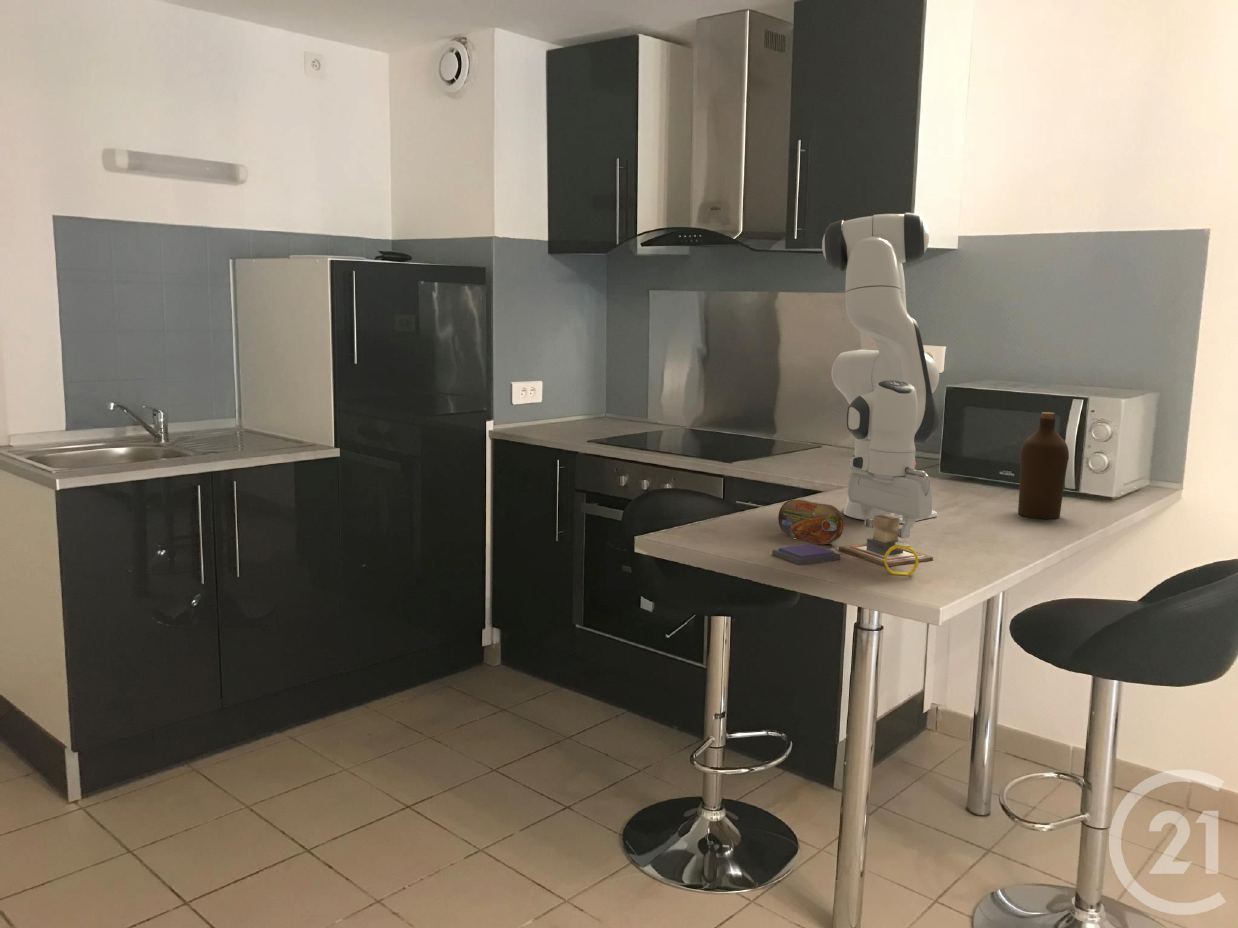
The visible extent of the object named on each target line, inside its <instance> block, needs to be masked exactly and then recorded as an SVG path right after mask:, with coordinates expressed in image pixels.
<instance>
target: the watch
mask: <svg viewBox="0 0 1238 928" xmlns="http://www.w3.org/2000/svg"><path fill="white" fill-rule="evenodd" d="M903 542H904V541H903ZM903 542H896V543H895V545H894V546H892V547H890V548H889V549H888V551H887V552H886V554H885V558H884V563H885V566H884V567H885V568H886V570H887V571H888V572H889V573H890V574H891V575H894V576H903V577H904V576H905V577H909V576H910V575H912V574H914V573H915V571H916V570H917V568H918V566H919V562H918V556H917V554H916V552H917V551H915V549H914V548H913V547H911V544H910V543H908V542H904V543H903ZM896 548H899V549H909V550H910V551H912V552H913V554H914V555H915V559H916V563H914V565H913V567H912V569H909V570H908V571H907V572H905V571H904V572H903V571H893V570H892V569H891V568H890V566H888V565H887V556H888V555H889V553H890V552H891V551H892V550H894V549H896Z"/></svg>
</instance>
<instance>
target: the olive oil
mask: <svg viewBox="0 0 1238 928" xmlns="http://www.w3.org/2000/svg"><path fill="white" fill-rule="evenodd" d="M1040 416H1041V417H1040V419H1039V427H1038V428H1037V430H1036V431H1034V432H1033V433H1032V434H1031V435H1030V436H1029V437H1028V438H1026V439H1025V441H1024V442H1023V443H1022V446H1021V449H1020V458H1019V459H1020V462H1019V463H1020V464H1019V465H1020V466H1019V467H1020V468H1019V470H1020V471H1019V490H1018V491H1019V493H1018V504H1017V505H1018V507H1017V513H1018V514H1019V515H1021V516H1022V517H1023V516H1024V517H1026V518H1033V519H1040V520H1054V519H1055V520H1056V519H1059V518H1060V516H1061V510H1062V504H1063V497H1064V496H1063V494H1064V490H1065V489H1064V488H1065V482H1066V476H1067V469H1068V463H1069V458H1070V455H1069V454H1070V452H1069V447H1068V445H1067V442H1066V441H1065V440H1064V439H1063V437H1062V436H1061V435H1060V434H1059V432H1057V430H1056V427H1055V426H1056V413H1055V412H1051V411H1050V412H1049V411H1048V412H1047V411H1046V412H1045V411H1041V414H1040Z"/></svg>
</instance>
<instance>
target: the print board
mask: <svg viewBox="0 0 1238 928" xmlns="http://www.w3.org/2000/svg"><path fill="white" fill-rule="evenodd" d="M837 548H838V549H837V550H838V551H840V552H844V553H847V554H850V555H852V556H856V557H858V558H861V559H864V560H866V561H869V562H873V563H876V564H878V565H881V566H884V567H886V566H885V563H884V558H885V556H884V555H881V554H878V553H875V552H872V551H869V550H866V548H867V542H866V543H865V542H864V543H858V544H852V545H842V546H838V547H837ZM915 552H916V554H917V556H918V563H922V562H929V561H930V562H931V561H934V557H933V556H930V555H928V554H924V553H920V552H918V551H915ZM915 563H916V559H915V555H914V554H913V552H912V551H910V550H909V549H903V553H900V554H892V555H888V556H887V565H888V567H894V566H900V565H907V564H908V565H909V564H915Z"/></svg>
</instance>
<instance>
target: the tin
mask: <svg viewBox="0 0 1238 928" xmlns="http://www.w3.org/2000/svg"><path fill="white" fill-rule="evenodd" d="M777 519H778V525H779V527H780V529H781V531H782V533H783V534H784V535H785V536H786V537H788V538H790V537H791V538H790V539H793V538H796V539H795V540H798V541H802V542H803V541H804V542H808V543H811V544H817V545H827V544H830V543H831V544H832V543H834V542H836V541H837V540H839V538H840V537H841V536H842V535H843V531H844V517H843V515H842V513H841V512H840V510H839V508H837V507H835V506H833V505H832V504H827V503H820V502H816V501H809V500H804V499H790V500H787V501H785V502H784V503H783V504H782V505H781V507H780V509H779V511H778V516H777Z"/></svg>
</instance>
